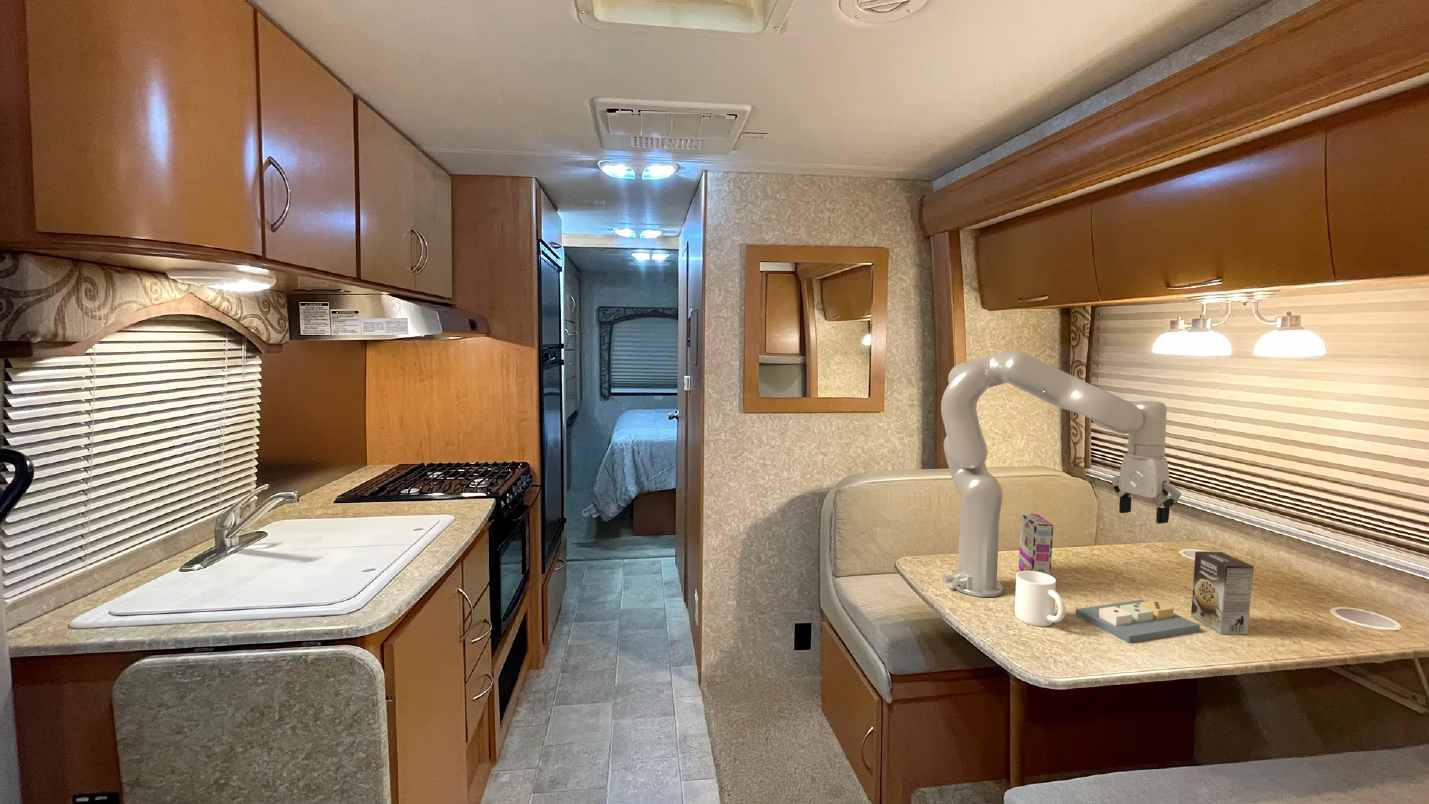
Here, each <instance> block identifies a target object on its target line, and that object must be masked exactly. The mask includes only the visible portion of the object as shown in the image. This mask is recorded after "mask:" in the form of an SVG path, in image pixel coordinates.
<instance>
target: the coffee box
mask: <svg viewBox="0 0 1429 804" xmlns="http://www.w3.org/2000/svg"><path fill="white" fill-rule="evenodd" d="M1194 555H1195V556H1194V567H1193V568H1194V570H1193V583H1192V596H1191V608H1190V609H1191V610H1190V616H1191V618H1193V619H1194V620H1196V621H1198V622H1200V623H1201V624H1202V625H1204V626H1205V627H1207V628H1209V629H1211V630H1212V631H1214V632H1216V633H1218V634H1219V635H1238V634H1240V635H1241V634H1247V635H1248V631H1249V630H1248V628H1249V619H1250V607H1251V599H1252V590H1253V589H1252V588H1253V579H1254V570H1255V567H1254V565H1252V564H1250V563H1248V562H1245V561H1243V560H1241V559H1239V558H1237V557H1234V556H1232V555H1229V554H1227V553H1225V552H1223V551H1207V550H1206V551H1195V552H1194ZM1241 636H1242V635H1241Z"/></svg>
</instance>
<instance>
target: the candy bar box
mask: <svg viewBox="0 0 1429 804" xmlns="http://www.w3.org/2000/svg"><path fill="white" fill-rule="evenodd" d="M1020 516H1021V518H1020V532H1019V533H1020V538H1019V539H1020V541H1019V553H1018V554H1019V555H1018V556H1019V557H1018V569H1019V570H1020V572H1021V571H1035V572H1041V573H1045V574H1048V575H1050V576H1051V573H1052V572H1051V570H1052V569H1051V568H1052V555H1053V554H1052V553H1053V552H1052V551H1053V538H1054V537H1053V535H1054V525H1053V524H1052V523H1051V522H1049V521H1048V520H1046V519H1045V518H1044V517H1042V516H1041V515H1039V514H1033V513H1021V514H1020Z"/></svg>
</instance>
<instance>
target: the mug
mask: <svg viewBox="0 0 1429 804" xmlns="http://www.w3.org/2000/svg"><path fill="white" fill-rule="evenodd" d="M1015 575H1016V576H1015V577H1016V578H1015V599H1014V600H1015V601H1014V614H1015V617H1016V618H1017V619H1018V620H1019V621H1020V622H1022V623H1024V624H1026V625H1029V626H1033V627H1048V626H1051V625H1053V623H1059V622H1061V621H1062V620H1063V619H1064V617H1065V614H1066V613H1065V612H1066V606H1065V602H1064V600H1063V598H1062V596H1061V595H1060V594H1059V593H1058V592H1057V591H1056V588H1057V587H1056V586H1057V579H1056V578H1055V577H1054V576H1052V575H1051V574H1050V575H1048V574H1045V573H1041V572H1035V571H1021V570H1020V571H1018V572H1016V574H1015ZM1056 604H1057V613H1056V612H1055V610H1056V609H1055V608H1056ZM1055 613H1056V615H1055Z"/></svg>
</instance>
